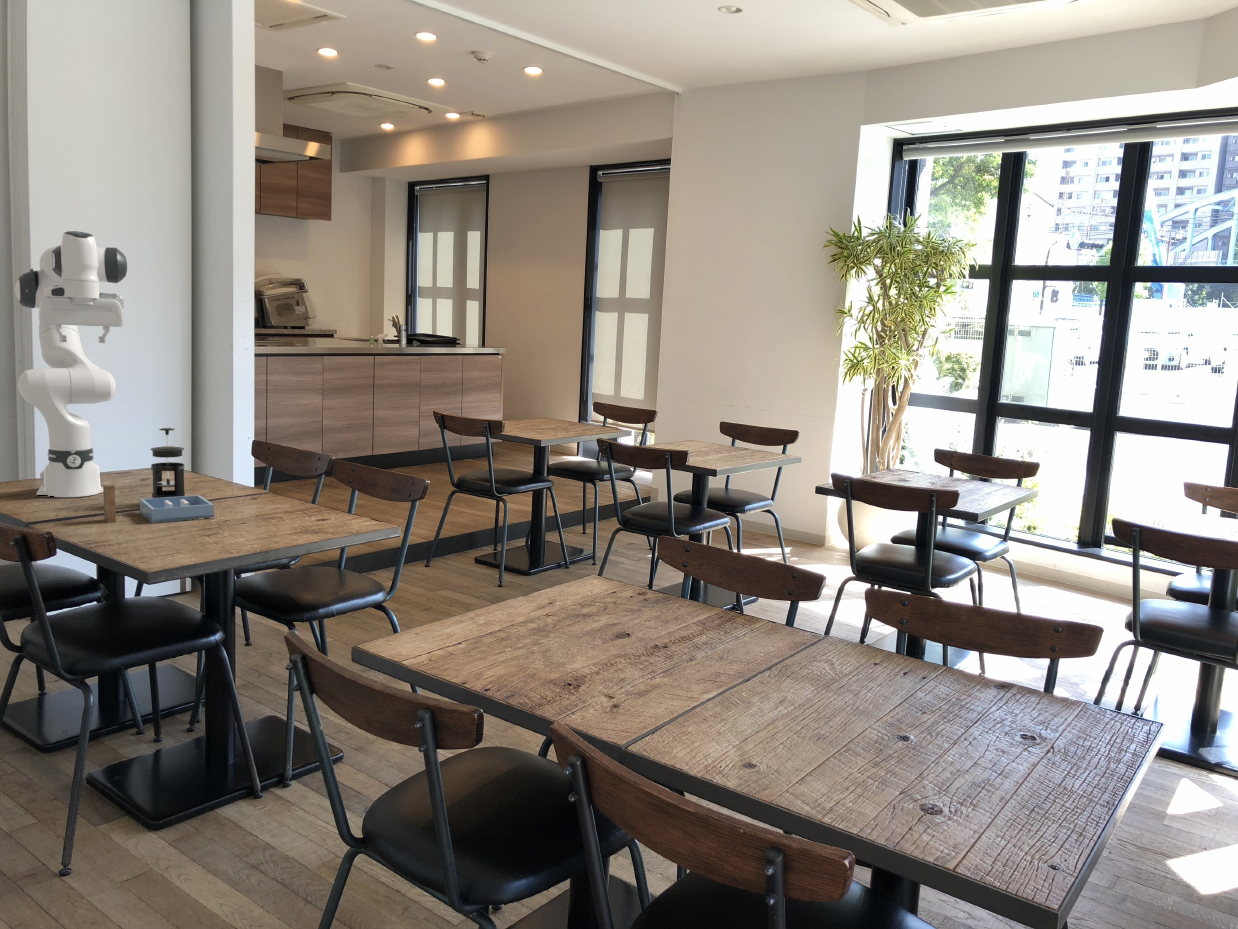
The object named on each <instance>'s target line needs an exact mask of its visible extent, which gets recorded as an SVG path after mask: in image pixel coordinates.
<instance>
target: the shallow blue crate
mask: <svg viewBox="0 0 1238 929" xmlns="http://www.w3.org/2000/svg"><path fill="white" fill-rule="evenodd" d="M139 513H140V514H141V515H142V516H143V517H145V519H146V520H148V521H149V522H150V523H151V522H152V523H151V524H158V523H157V522H164V523H173V521H176V522H183V521H182V520H188V521H193V520H192V519H199V518H210V517H214V518H215V504H214V503H212V502H211V501H209V500H207V499H206V498H205V497H203V496H202V495H200V494H197V495H196V494H195V495H194V494H193V495H185V496H177V497H162V498H152V497H150V498H149V497H148V498H139Z"/></svg>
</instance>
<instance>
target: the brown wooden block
mask: <svg viewBox="0 0 1238 929" xmlns="http://www.w3.org/2000/svg"><path fill="white" fill-rule="evenodd" d="M102 487H103V492H102V493H103V496H102V497H103V520H104V521H105V522H106V523H108V524H110V522H111V524H113V523H116V522H117V521H116V520H117V519H116V516H117V515H116V514H117V513H116V488H115V487H116V486H115V485H114V484H113V483H112V482H111V483H109V482H108V483H103V484H102ZM112 522H113V523H112Z"/></svg>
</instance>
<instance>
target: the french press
mask: <svg viewBox="0 0 1238 929" xmlns="http://www.w3.org/2000/svg"><path fill="white" fill-rule="evenodd" d="M158 430H159V431H165V432H164V433H165V436H166V446H164V445H162V446H159V447H158V446H157V447H156V446H155V447H152V448H150V451H152V457H153V458H166V462H157V463H152V464H150V465H151V466H150V468H151V471H152V492H151V498H162V497H177V496H186V492H185V463H183V462H170V461H169V458H179V457H183V451H184V450H185V448H184V447H182V446H181V447H180V446H173V445H172V446H171V445H170V446H169V435H170V431H175V428H171V427H162V428H159V429H158ZM163 472H167V473H166V474H167V478H166V480H163ZM170 472H173V473H174V474H173V476H174V477H173V478H174V479H173V480H170V474H169V473H170ZM163 488H174V489H173V490H170V489H169V490H168V489H167V490H163Z"/></svg>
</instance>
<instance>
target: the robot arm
mask: <svg viewBox="0 0 1238 929" xmlns="http://www.w3.org/2000/svg"><path fill="white" fill-rule="evenodd" d="M127 272H128V262H127V257H126V255H125V254H124V253H123V251H121V250H120V249H118V248H117V247H102V246H101V247H100V246H98V245H97V241H96V238H95V236H94V235H93V234H92V233H89V232H85V231H75V230H74V231H72V230H71V231H70V230H69V231H68V230H67V231H65V232H63V234H62V238H61V245H55V246H51V247H49V248H48V249H45V251H43V253H42V254H41V256H40V259H39V269H38V270H34V268H30V269H29V271H27V272H25V273H22V274H21V275H20V276H19V277H18V278H17V281H16V282H15V286H14V292H15V296H16V298H17V300H18V303H19V304H20V305H21V307H25V308H28V309H29V308H30V309H38V321H39V322H38V337H39V344H40V350H41V357H42V359H43V361H44V362H45V364H46V365H47V366H49V367H38V368H32V369H27V370H25V371H23V372H22V373H21V375H20V377H19V378H18V380H17V389H18V392H19V394H20V396H21V397H22V398H23V399H24V400H25V401H26V402H27V403H29V404H31V405H32V406H34V407H35V408H36V409H37V410H38V411H39V412H40V414H41V415H42V416H43V418H44V420H45V423H46V426H47V432H48V442H49V448H48V450H47V451H48V452H47V461H48V464H47V465H46V466H45V468H43V470H42V471H41V472H40V474H39V475H40V476H39V478H40V481H41V480H42V482H41V485H40V487H39V489H38V490H37V491H36V496H37V495H48V496H47V497H50V496H54V497H53V498H80V497H88V496H94V495H97V494H101V493H103V486H101V476H100V474H101V473H100V467H99V465H98V464H96V463H95V462H94V449H93V447H92V437H91V436H92V435H91V434H92V433H91V431H92V430H91V425H90V423H89V421H88V420H87V419H85V418H83V417H81V416H79V415H77V414H74V413H72V412H70V411H68V408H67V406H68V405H76V404H77V405H78V404H80V405H81V404H83V405H85V404H86V405H87V404H88V405H90V404H91V405H92V404H93V405H94V404H100V403H104V402H109V401H110V400H111V399H113V397H114V396H115V394H116V391H117V382H116V380H115V379H116V378H114V376H113V375H112V374H111V372H110V371H108V370H106V369H103V368H101V367H99V366H98V365H96V364H95V363H93V362H92V361H91V360H90V359H89V358H88V357H87V356H86V354H85V352H84V347H83V345H82V344H83V343H82V341H81V335H80V331H79V328H78V326H80V327H81V326H83V327H84V326H85V327H102V331H104V332H103V333H102V334H101V336H100V335H99V336H97V338H98V343H99V344H106V337H107V335H108V334H109V333H110V328H111V327H113V328H115V327H116V328H122V326H124V324H125V323H124V315H123V314H124V313H123V308H124V304H125V303H124V302H125V301H124V299H123V297H122V296H120V295H118V294H117V293H105V292H100V282H102V283H112V284H118V283H120V282H121V281H122V280H123V279H125V278H126V276H127Z"/></svg>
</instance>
